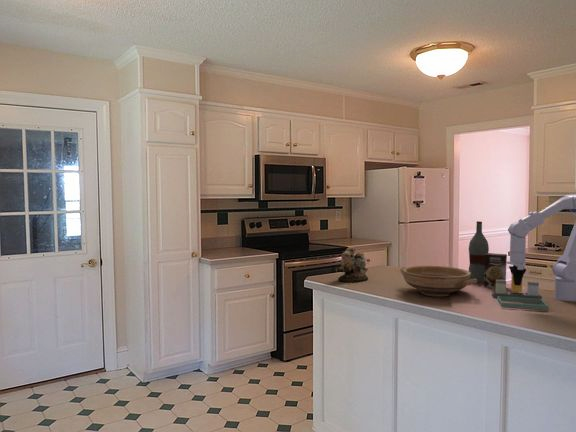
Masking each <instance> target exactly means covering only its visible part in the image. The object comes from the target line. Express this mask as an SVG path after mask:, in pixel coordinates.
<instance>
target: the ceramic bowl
mask: <svg viewBox="0 0 576 432" xmlns="http://www.w3.org/2000/svg"><path fill="white" fill-rule="evenodd" d="M399 271H400V274H401V275H402V276H403V278H404V281H405V282H406V284H407V285H409V286H410V287H412V288H413V289H414V288H415V289H416V290H418V291H419V292H420V294H422V295H424V296H429V297H430V296H431V297H438V298H439V297H449V296H451V293H454V292H457V291H460V290H464V289H465V288H466V287H467V286H471V285H472V286H473V285H474V284H476V283H477V279H471V280H470V275H471V273H470V272H469V270H466V269H464V268H458V267H453V266H445V265H444V266H443V265H414V266H408V267H407V266H406V267H403V266H402V267H401V268H400V269H399Z"/></svg>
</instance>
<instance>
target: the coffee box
mask: <svg viewBox="0 0 576 432" xmlns="http://www.w3.org/2000/svg"><path fill="white" fill-rule="evenodd" d="M507 262H508V254H506V253H505V254H504V253H493V252H492V253H491V252H488V253H486V254H485V271H484V284H483V287H484V288H493V289H496V280H506V281H507Z"/></svg>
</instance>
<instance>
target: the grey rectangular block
mask: <svg viewBox="0 0 576 432" xmlns="http://www.w3.org/2000/svg"><path fill="white" fill-rule="evenodd" d="M539 285H540V282H538V281H532V280H531V281H530V280H529V281H528V280H527V287H526V289H527V292H526V293H527V295H532V296H538V294H539V289H540V287H539Z"/></svg>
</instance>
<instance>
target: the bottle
mask: <svg viewBox="0 0 576 432" xmlns="http://www.w3.org/2000/svg"><path fill="white" fill-rule="evenodd" d="M475 229H476V230H475V234H474V235H473V236H472V238H471V239H470V241H469V245H468V254H469V255H468V257H469V266H468V271H469V272H470V273H471V275H470V280H471V279H477V283H475V284H480V285H484V271H485V254H486V253H490V252H489V251H490V247H489V246H490V245H489V242H488V240H487V239H486V237H485V235H484V234H483V221H479V220H478V221H476V228H475Z"/></svg>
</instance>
